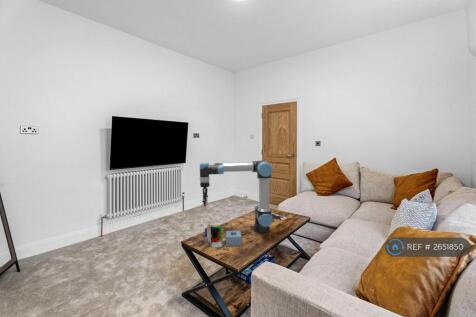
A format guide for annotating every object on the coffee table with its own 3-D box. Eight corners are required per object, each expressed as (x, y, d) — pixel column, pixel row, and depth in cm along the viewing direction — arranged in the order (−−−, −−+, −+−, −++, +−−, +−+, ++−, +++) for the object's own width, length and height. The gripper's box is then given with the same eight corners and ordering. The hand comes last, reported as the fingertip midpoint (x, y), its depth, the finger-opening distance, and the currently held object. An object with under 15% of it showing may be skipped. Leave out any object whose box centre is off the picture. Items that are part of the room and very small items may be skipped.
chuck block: (240, 238, 185) (240, 230, 184) (241, 245, 173) (241, 236, 173) (221, 239, 184) (221, 231, 183) (221, 246, 172) (221, 237, 171)
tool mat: (221, 242, 179) (221, 241, 179) (222, 247, 171) (221, 246, 171) (211, 242, 179) (211, 242, 179) (211, 247, 171) (211, 247, 171)
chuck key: (211, 243, 178) (210, 223, 177) (210, 248, 170) (210, 227, 169) (207, 243, 178) (207, 224, 176) (207, 248, 170) (206, 228, 169)
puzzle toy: (205, 240, 182) (204, 228, 182) (211, 236, 191) (211, 224, 191) (215, 242, 178) (215, 230, 178) (221, 237, 187) (221, 226, 187)
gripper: (201, 179, 192) (202, 203, 194) (198, 185, 167) (199, 212, 169) (210, 178, 193) (210, 202, 195) (208, 184, 168) (209, 211, 170)
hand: (205, 207), depth 182 cm, fingers open, 13 cm apart
